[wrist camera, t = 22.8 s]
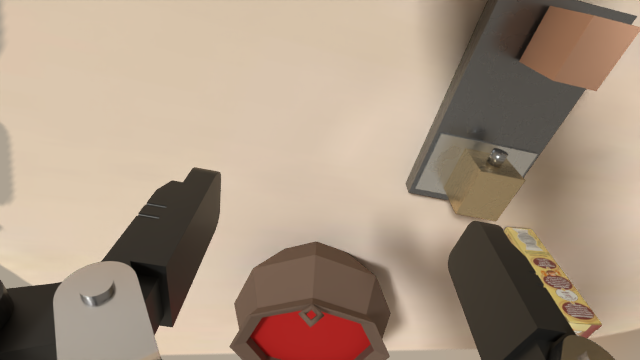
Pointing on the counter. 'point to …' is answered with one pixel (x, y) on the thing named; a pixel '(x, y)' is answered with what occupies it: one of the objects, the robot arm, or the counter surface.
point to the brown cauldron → (311, 308)
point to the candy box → (555, 282)
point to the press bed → (499, 95)
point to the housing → (482, 184)
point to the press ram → (577, 47)
